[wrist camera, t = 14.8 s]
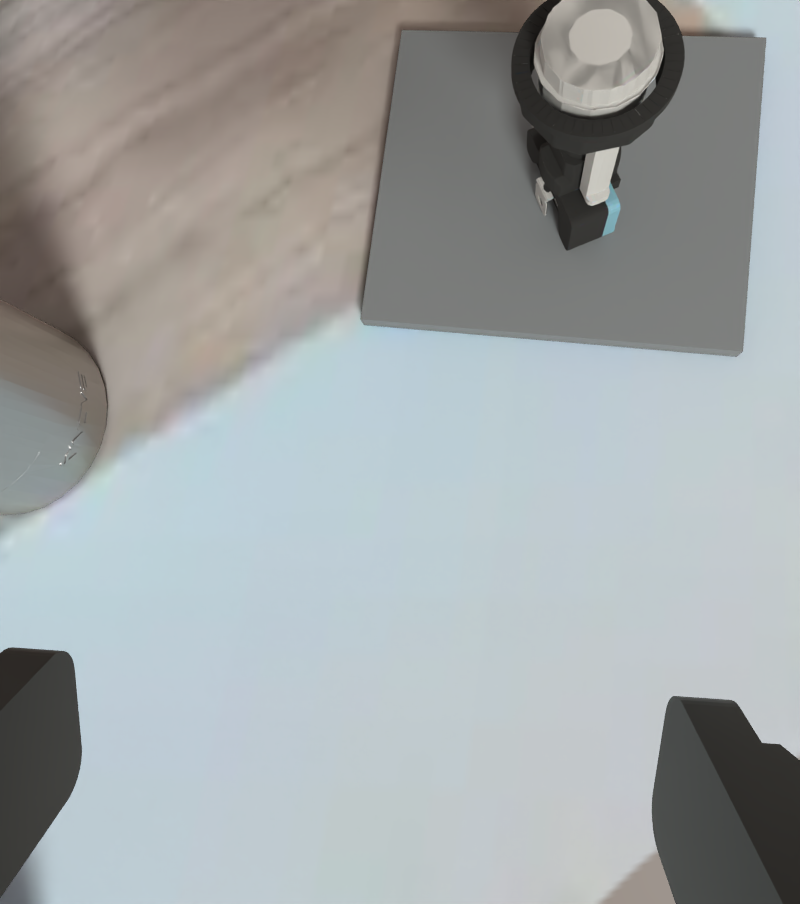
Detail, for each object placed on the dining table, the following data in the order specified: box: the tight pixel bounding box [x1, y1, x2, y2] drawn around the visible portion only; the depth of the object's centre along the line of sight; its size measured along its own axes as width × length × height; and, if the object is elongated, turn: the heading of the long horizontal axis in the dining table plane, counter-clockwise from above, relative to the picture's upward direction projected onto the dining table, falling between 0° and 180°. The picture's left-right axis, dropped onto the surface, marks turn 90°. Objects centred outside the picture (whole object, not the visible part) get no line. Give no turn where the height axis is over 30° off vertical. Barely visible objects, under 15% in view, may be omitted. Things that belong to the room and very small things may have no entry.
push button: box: [511, 0, 685, 251], centre depth 28 cm, size 7×5×10 cm
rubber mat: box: [361, 30, 766, 357], centre depth 33 cm, size 16×14×1 cm
